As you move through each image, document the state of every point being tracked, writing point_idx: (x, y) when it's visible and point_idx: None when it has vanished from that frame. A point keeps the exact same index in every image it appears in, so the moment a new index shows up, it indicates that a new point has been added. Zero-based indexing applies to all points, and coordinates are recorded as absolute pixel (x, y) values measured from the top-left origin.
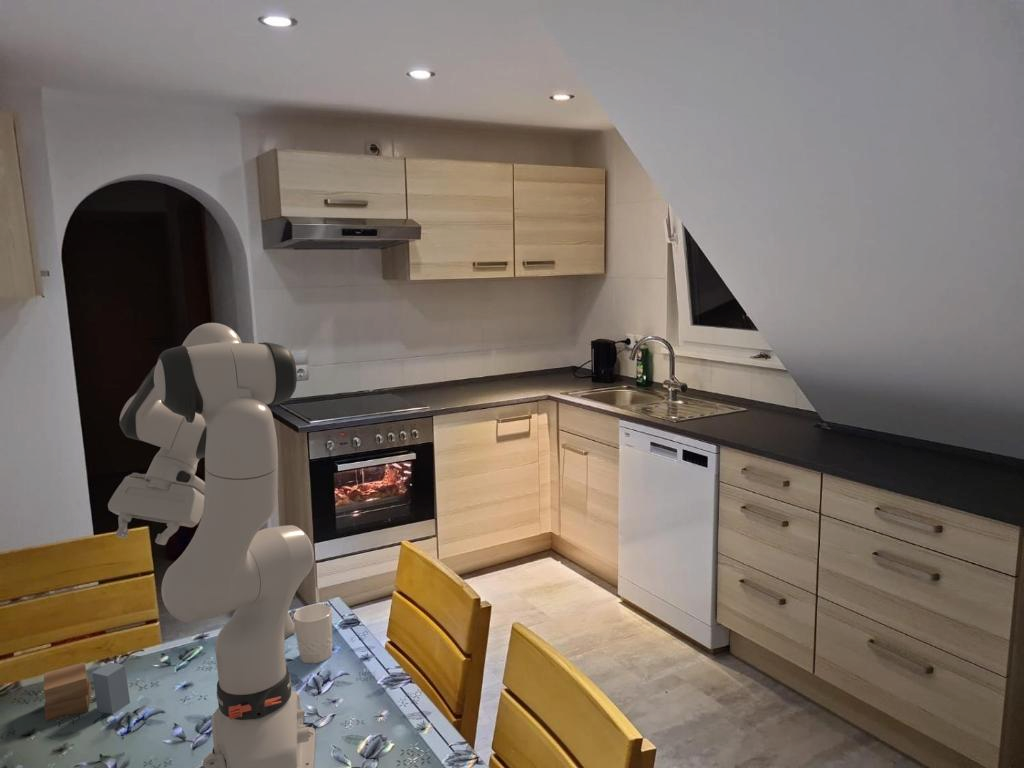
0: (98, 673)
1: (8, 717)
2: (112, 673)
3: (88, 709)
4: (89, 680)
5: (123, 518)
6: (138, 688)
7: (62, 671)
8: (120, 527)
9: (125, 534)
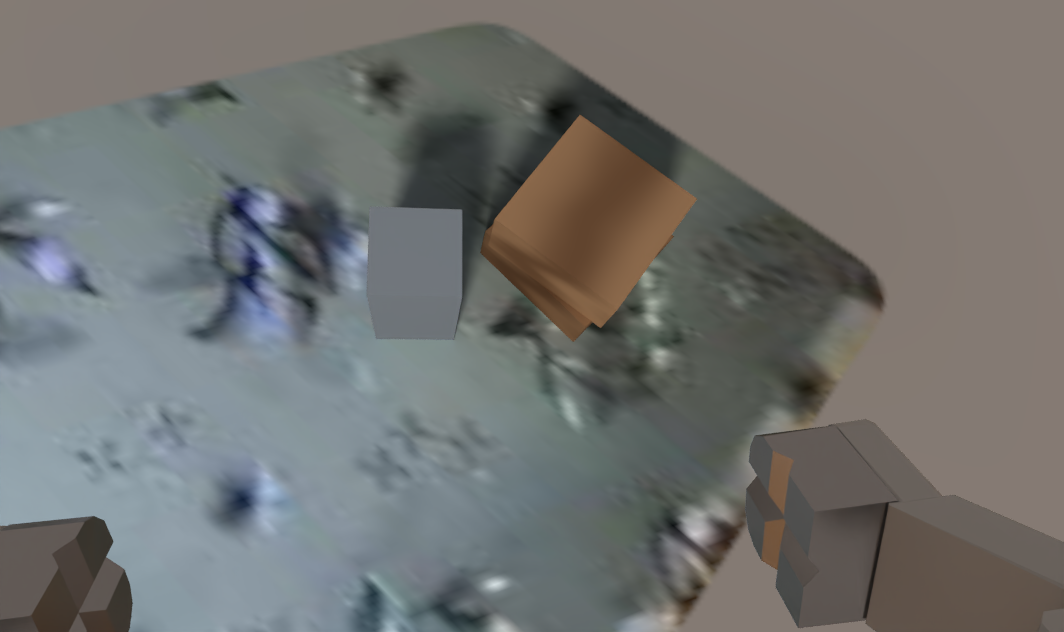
0: (428, 212)
1: (707, 156)
2: (369, 232)
3: (488, 258)
4: (574, 317)
5: (1043, 614)
6: (423, 421)
7: (636, 227)
8: (904, 493)
9: (769, 514)
